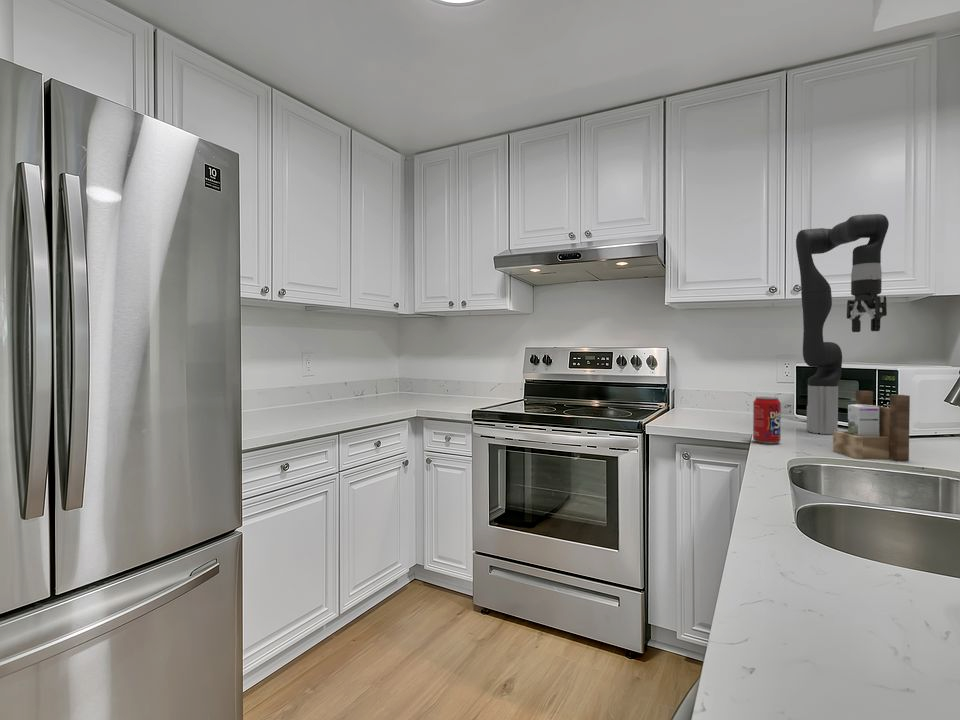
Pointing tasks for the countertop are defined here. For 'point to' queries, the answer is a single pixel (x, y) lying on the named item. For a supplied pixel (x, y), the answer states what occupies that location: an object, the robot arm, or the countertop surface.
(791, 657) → the countertop surface
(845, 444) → the wooden stand
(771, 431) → the soda can
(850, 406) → the syrup box
